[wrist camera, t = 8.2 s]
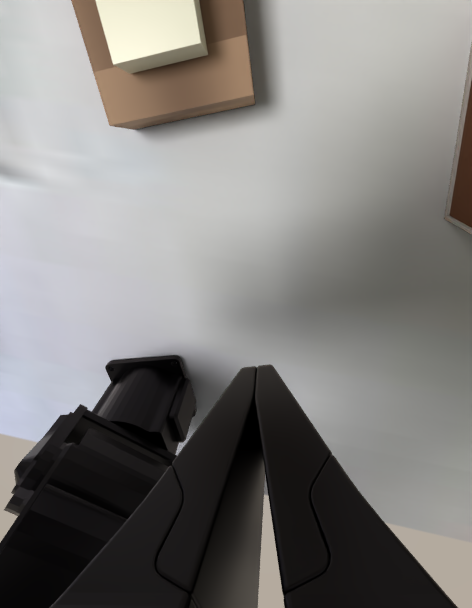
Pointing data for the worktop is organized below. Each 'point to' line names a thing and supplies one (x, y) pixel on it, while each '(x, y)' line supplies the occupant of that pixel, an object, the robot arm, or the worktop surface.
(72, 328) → the worktop surface
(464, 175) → the food container
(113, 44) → the plunger
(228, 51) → the bar
